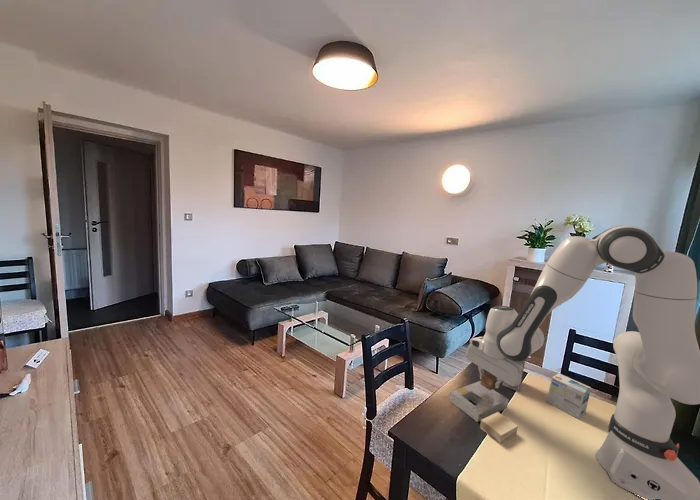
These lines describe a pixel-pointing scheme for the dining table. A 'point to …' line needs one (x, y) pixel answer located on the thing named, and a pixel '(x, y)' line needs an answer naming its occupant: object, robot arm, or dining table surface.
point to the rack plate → (478, 401)
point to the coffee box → (517, 385)
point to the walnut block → (488, 380)
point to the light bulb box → (569, 395)
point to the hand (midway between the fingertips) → (488, 382)
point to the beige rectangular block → (498, 427)
